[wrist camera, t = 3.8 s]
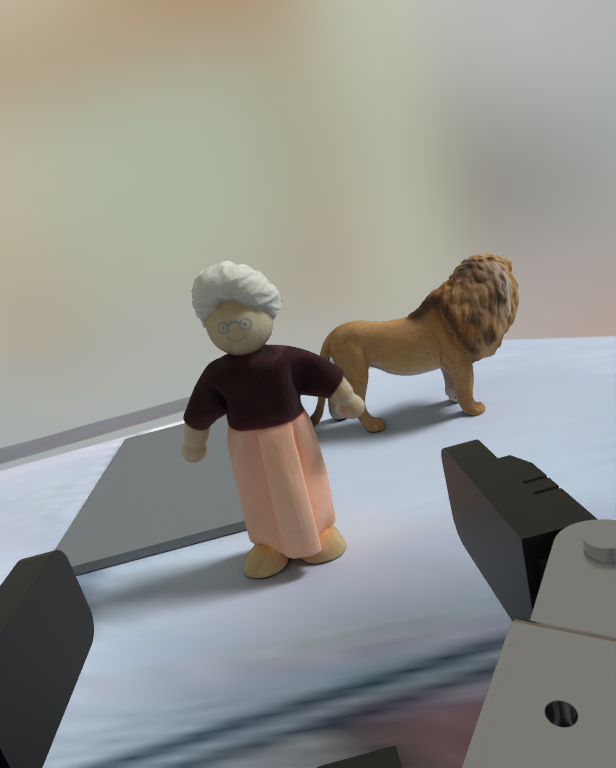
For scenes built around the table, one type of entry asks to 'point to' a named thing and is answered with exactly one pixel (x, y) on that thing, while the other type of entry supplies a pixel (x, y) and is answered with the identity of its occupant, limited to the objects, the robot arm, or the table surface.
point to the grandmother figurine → (266, 420)
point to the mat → (155, 501)
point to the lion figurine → (431, 336)
